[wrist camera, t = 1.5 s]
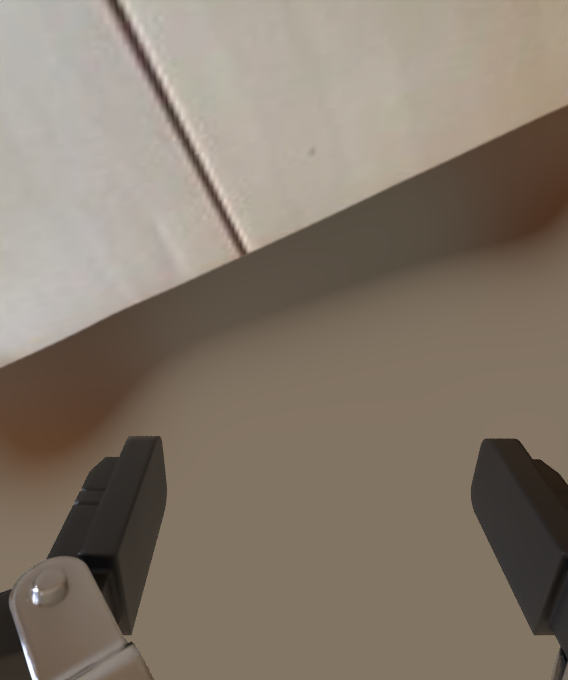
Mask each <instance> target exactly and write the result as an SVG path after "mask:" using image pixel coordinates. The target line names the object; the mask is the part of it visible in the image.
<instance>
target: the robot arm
mask: <svg viewBox="0 0 568 680" xmlns="http://www.w3.org/2000/svg"><path fill="white" fill-rule="evenodd" d="M166 496H167V484H166V475H165V465H164V457H163V447H162V440H161V438H160V436H129V437H128V439H127V441H126V443H125V445H124V447H123V450H122V452H121V454H120V457H105V458H104V459H103V460H102V461H101V462H100V463H99V464H98V465H96V466H95V467H94V468H93V469H92V470H91V471H90V472H89V474H88V476H87V478H86V480H85V483H84V484H83V486H82V491H80V492H79V494H78V497H77V499H76V501H75V505H73V507H72V509H71V511H70V513H69V515H68V517H67V519H66V521H65V523H64V525H63V527H62V529H61V531H60V533H59V535H58V537H57V539H56V541H55V543H54V545H53V547H52V549H51V551H50V553H49V555H48V557H47V559H46V560H44V561H42V562H40V563H38V564H36V565H34V566H33V567H31V568H30V569H28V570H27V571H26V572H25V573H24V574H22V576H21V577H20V578H19V579H18V580H17V582H16V583H15V584H14V586H13V588H12V589H10V590H7V591H5V592H2V593H0V680H154V678H153V677H152V674H151V673H150V671H149V669H148V667H147V665H146V663H145V661H144V659H143V657H142V656H141V654H140V652H139V650H138V648H137V647H136V646H135V644H134V643H132V642H130V643H128V642H127V641H126V640H125V638H124V636H123V635H131V634H132V631H133V627H134V623H135V620H136V616H137V612H138V608H139V604H140V601H141V597H142V593H143V590H144V586H145V582H146V578H147V574H148V571H149V567H150V563H151V560H152V556H153V552H154V548H155V545H156V540H157V537H158V533H159V529H160V526H161V522H162V518H163V515H164V510H165V506H166ZM471 500H472V505H473V509H474V512H475V514H476V516H477V518H478V520H479V522H480V524H481V526H482V529H483V531H484V533H485V535H486V537H487V539H488V541H489V543H490V545H491V547H492V549H493V551H494V553H495V555H496V558H497V559H498V562H499V564H500V566H501V568H502V570H503V572H504V574H505V576H506V578H507V580H508V582H509V585H510V587H511V589H512V591H513V593H514V595H515V597H516V599H517V601H518V603H519V605H520V607H521V609H522V611H523V614H524V616H525V618H526V620H527V622H528V624H529V626H530V628H531V630H532V632H533V634H534V635H555V636H556V638H557V640H558V642H559V644H560V648H559V651H558V653H557V655H556V659H555V663H554V668H553V672H552V676H551V680H568V485H567V483H566V482H565V481H564V479H563V478H562V477H561V475H559V473H558V472H556V471H555V470H553V469H552V468H551V467H549V466H548V465H547V464H545V463H544V462H543V461H541V460H540V459H539V460H537V459H532V458H531V456H530V455H529V453H528V452H527V451H526V449H525V448H524V446H523V445H522V444H521V443H520V441H518V440H517V439H484V440H483V442H482V444H481V447H480V451H479V455H478V460H477V464H476V468H475V473H474V477H473V481H472V486H471Z"/></svg>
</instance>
